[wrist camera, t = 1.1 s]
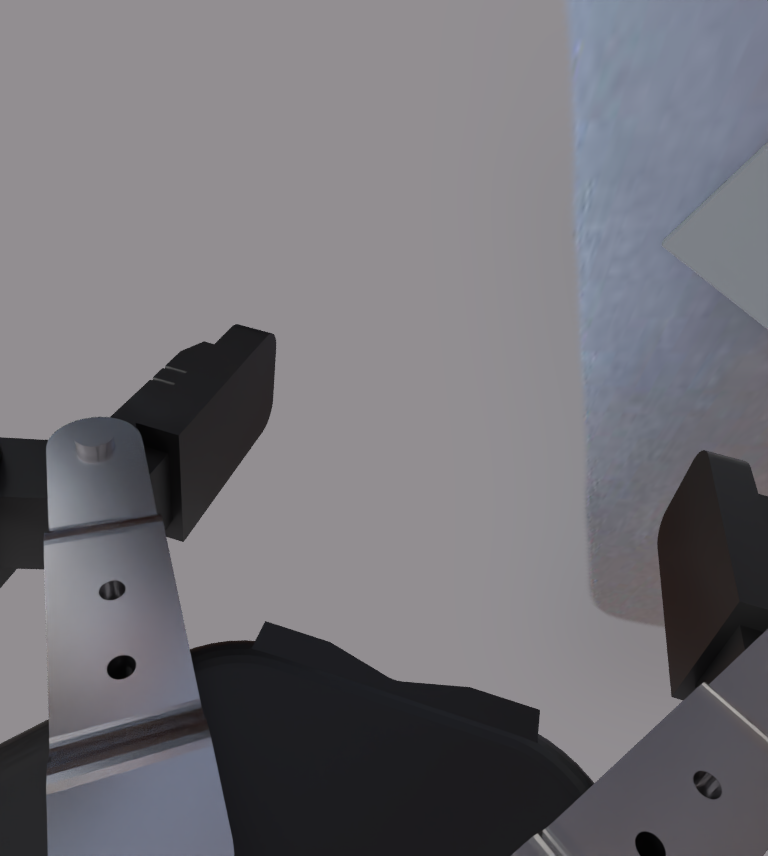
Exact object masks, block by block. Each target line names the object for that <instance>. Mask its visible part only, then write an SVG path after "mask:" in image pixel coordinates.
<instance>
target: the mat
mask: <svg viewBox="0 0 768 856" xmlns="http://www.w3.org/2000/svg"><path fill="white" fill-rule="evenodd" d="M662 246H663V247H664V248H665V249H666V250H668V251H669V252H670V253H671V254H673V255H674V256H675V257H676V258H678V259H679V260H680V261H682V262H683V263H684V264H685V265H687V266H688V267H689V268H690V269H692V270H693V271H694V272H696V273H697V274H698V275H699V276H701V277H702V278H703V279H704V280H706V281H707V282H708V283H709V284H711V285H712V286H713V287H715V288H716V289H717V290H718V291H720V292H721V293H722V294H723V295H725V296H726V297H727V298H728V299H730V300H731V301H732V302H734V303H735V304H736V305H737V306H739V307H740V308H741V309H742V310H744V311H745V312H746V313H747V314H749V315H750V316H751V317H753V318H754V319H755V320H756V321H758V322H759V323H760V324H761V325H763V326H764V327H765V328H766V329H768V142H767V143H766V144H765V145H764V146H763V147H762V148H761V149H760V150H759V151H758V152H756V153H755V154H754V155H753V156H752V157H751V158H750V159H749V160H748V161H747V162H746V163H745V164H744V165H743V166H742V167H741V168H739V169H738V170H737V171H736V172H735V173H734V174H733V175H732V176H731V177H730V178H729V179H728V180H727V181H726V182H725V183H724V184H722V185H721V186H720V187H719V188H718V189H717V190H716V191H715V192H714V193H713V194H712V195H711V196H710V197H709V198H708V199H706V200H705V201H704V202H703V203H702V204H701V205H700V206H699V207H698V208H697V209H696V210H695V211H694V212H693V213H692V214H691V215H689V216H688V217H687V218H686V219H685V220H684V221H683V222H682V223H681V224H680V225H679V226H678V227H677V228H676V229H675V230H674V231H672V232H671V233H670V234H669V235H668V236H667V237H666V238H665V239H664V240H663V242H662Z"/></svg>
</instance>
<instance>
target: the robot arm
mask: <svg viewBox="0 0 768 856" xmlns="http://www.w3.org/2000/svg"><path fill="white" fill-rule="evenodd" d="M275 357H276V339H275V336H274V334H272V333H268V332H265V331H261V330H257V329H253V328H249V327H246V326H242V325H238V324H236V325H234V326H232V327H231V328H230V329H229V330H228V331H227V332H226V333H225V334H224V335H223V336H222V337H221V338H220V339H219V340H218V341H217V342H216V343H215V344H211V343H207V342H202V343H199V344H197V345H195V346H192V347H190V348H187V349H185V350H183V351H181V352H179V353H178V355H176V356H175V357H174V358H173V359H172V360H171V361H170V362H169V363H168V364H167V365H166V367H165V369H164V368H163V369H161V370H160V371H159V372H158V373H157V374H156V375H155V376H154V377H153V380H149V381H148V382H147V383H146V384H145V385H144V386H143V387H142V388H141V389H140V390H139V391H138V392H137V393H135V394H134V395H133V396H132V397H131V398H130V399H129V400H128V401H127V402H126V403H125V404H124V405H123V406H122V407H121V408H119V409H118V410H117V411H116V412H115V413H114V414H113V415H112V416H111V417H91V418H85V419H80V420H76V421H74V422H71V423H68V424H66V425H64V426H63V427H61V428H59V429H58V430H57V431H56V432H54V434H52V436H51V437H50V438H49V440H36V439H35V440H34V439H19V438H1V437H0V588H1V587H2V585H3V584H4V583H5V582H6V581H7V580H8V579H9V577H10V576H11V575H12V574H13V573H14V572H15V570H16V569H17V568H19V569H20V568H21V569H44V570H45V571H44V573H45V607H46V643H47V675H48V676H47V677H48V711H49V719H48V720H46V721H44V722H42V723H40V724H38V725H36V726H34V727H32V728H31V729H28V730H27V731H24V732H23V733H21V734H19V735H17V736H15V737H13V738H11V739H9V740H7V741H5V742H3V743H1V744H0V856H763V855H764V854H765V853H766V851H767V850H768V496H764V495H760V494H758V491H757V488H756V484H755V481H754V478H753V474H752V471H751V467H750V465H749V463H748V462H746V461H742V460H739V459H735V458H731V457H728V456H724V455H720V454H716V453H713V452H709V451H705V450H703V451H701V452H699V453H698V454H697V456H696V457H695V459H694V460H693V462H692V464H691V466H690V467H689V469H688V471H687V473H686V475H685V477H684V479H683V480H682V482H681V484H680V486H679V488H678V490H677V491H676V493H675V495H674V497H673V499H672V501H671V502H670V504H669V506H668V508H667V510H666V512H665V514H664V516H663V519H662V521H661V525H660V529H659V533H658V542H657V545H658V557H659V568H660V578H661V589H662V600H663V610H664V621H665V631H666V642H667V653H668V662H669V674H670V685H671V695H672V697H674V698H677V699H681V700H683V701H682V702H681V703H680V704H679V705H678V706H677V707H676V708H675V709H674V710H673V711H672V712H670V713H669V714H668V715H667V716H666V717H665V718H664V719H663V720H662V721H661V722H660V723H659V724H658V725H657V726H655V727H654V728H653V730H651V731H650V732H649V733H648V734H647V735H646V736H645V737H644V738H643V739H642V740H641V741H639V742H638V743H637V744H636V745H635V746H634V747H633V748H632V749H631V750H630V751H629V752H628V753H627V754H625V756H623V757H622V758H621V759H620V760H619V761H618V762H617V763H616V764H615V765H614V766H613V767H612V768H610V770H608V771H607V772H606V773H605V774H604V775H603V776H602V777H601V778H600V779H599V780H598V781H597V782H596V783H594V782H593V781H592V780H591V779H590V778H589V776H588V775H587V774H586V773H585V772H584V771H583V770H582V769H581V768H580V767H579V765H578V764H577V763H575V762H574V761H573V760H572V759H571V758H570V757H569V756H568V755H567V754H566V753H564V752H563V751H562V750H561V749H559V748H558V747H556V746H555V745H554V744H553V743H551V742H550V741H549V740H547V739H546V738H544V737H542V736H541V735H539V734H538V727H539V715H540V710H538V709H535V708H532V707H529V706H526V705H523V704H520V703H517V702H514V701H511V700H507V699H504V698H501V697H498V696H495V695H492V694H489V693H486V692H483V691H479V690H476V689H473V688H470V687H460V686H447V685H436V684H424V683H412V682H401V681H396V680H393V679H391V678H388V677H387V676H385V675H384V674H382V673H380V672H379V671H377V670H375V669H374V668H372V667H370V666H369V665H367V664H365V663H364V662H362V661H360V660H358V659H357V658H355V657H354V656H352V655H351V654H349V653H347V652H345V651H344V650H342V649H341V648H339V647H337V646H335V645H334V644H332V643H331V642H328V641H325V640H322V639H318V638H316V637H313V636H309V635H306V634H303V633H300V632H297V631H294V630H291V629H288V628H285V627H282V626H279V625H275V624H272V623H269V622H266V621H265V623H264V625H263V627H262V629H261V631H260V633H259V635H258V637H257V639H256V641H246V640H244V641H226V642H218V643H211V644H207V645H204V646H200V647H196V648H193V649H189V644H188V640H187V634H186V630H185V625H184V620H183V615H182V610H181V606H180V601H179V596H178V591H177V586H176V582H175V577H174V572H173V567H172V562H171V558H170V553H169V548H168V543H167V539H166V537H169V538H173V539H176V540H179V541H182V542H184V540H185V539H186V538H187V536H188V535H189V534H190V532H191V531H192V529H193V528H194V527H195V525H196V524H197V522H198V521H199V520H200V518H201V517H202V515H203V514H204V512H205V511H206V510H207V508H208V507H209V506H210V504H211V503H212V501H213V500H214V499H215V497H216V496H217V494H218V493H219V492H220V490H221V489H222V487H223V486H224V485H225V483H226V482H227V481H228V479H229V478H230V476H231V475H232V474H233V472H234V471H235V469H236V468H237V466H238V465H239V464H240V463H241V461H242V460H243V458H244V457H245V456H246V454H247V453H248V451H249V450H250V449H251V447H252V446H253V444H254V443H255V441H256V440H257V439H258V437H259V436H260V435H261V433H262V432H263V430H264V428H265V427H266V424H267V422H268V419H269V416H270V413H271V409H272V404H273V390H274V373H275V372H274V371H275Z"/></svg>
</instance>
